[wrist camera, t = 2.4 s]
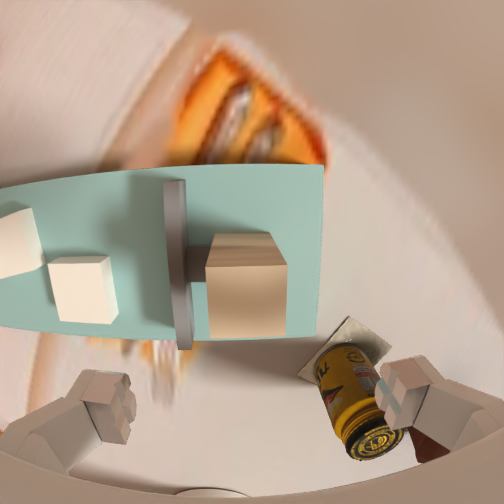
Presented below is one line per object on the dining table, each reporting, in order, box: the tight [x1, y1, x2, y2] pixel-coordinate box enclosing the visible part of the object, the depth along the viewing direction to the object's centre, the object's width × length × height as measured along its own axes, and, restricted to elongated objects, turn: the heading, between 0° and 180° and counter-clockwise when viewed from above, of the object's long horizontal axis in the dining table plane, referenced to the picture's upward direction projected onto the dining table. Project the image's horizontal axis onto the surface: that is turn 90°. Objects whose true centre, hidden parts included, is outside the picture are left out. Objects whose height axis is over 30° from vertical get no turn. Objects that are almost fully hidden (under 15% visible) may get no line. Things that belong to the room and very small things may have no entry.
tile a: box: [48, 256, 119, 324], centre depth 22 cm, size 5×5×2 cm
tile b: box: [0, 208, 46, 279], centre depth 21 cm, size 5×5×2 cm
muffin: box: [407, 425, 450, 463], centre depth 30 cm, size 12×11×10 cm
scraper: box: [163, 180, 288, 350], centre depth 19 cm, size 12×7×8 cm, turn 0°
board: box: [0, 164, 324, 341], centre depth 25 cm, size 14×34×4 cm, turn 90°
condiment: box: [297, 316, 405, 461], centre depth 25 cm, size 7×8×12 cm
